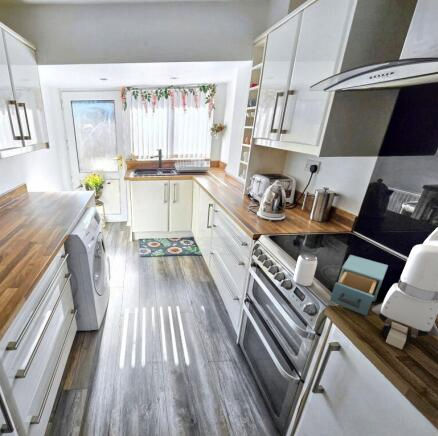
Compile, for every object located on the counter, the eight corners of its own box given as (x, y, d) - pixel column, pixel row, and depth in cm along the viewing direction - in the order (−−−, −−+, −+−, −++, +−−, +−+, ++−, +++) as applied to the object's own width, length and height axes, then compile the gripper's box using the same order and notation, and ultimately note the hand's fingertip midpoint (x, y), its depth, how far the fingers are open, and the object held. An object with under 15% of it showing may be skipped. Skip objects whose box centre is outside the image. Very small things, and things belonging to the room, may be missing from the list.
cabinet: (374, 301, 86) (382, 280, 83) (336, 287, 95) (342, 267, 91) (380, 285, 95) (388, 265, 91) (344, 273, 103) (350, 254, 99)
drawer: (364, 322, 77) (371, 303, 74) (326, 306, 84) (331, 288, 81) (373, 298, 87) (379, 281, 84) (338, 286, 94) (343, 269, 91)
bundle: (388, 329, 75) (392, 321, 74) (404, 336, 72) (408, 327, 71) (385, 342, 71) (388, 333, 70) (402, 349, 68) (406, 341, 67)
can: (295, 285, 97) (300, 259, 92) (292, 276, 102) (297, 251, 98) (313, 288, 95) (320, 262, 90) (309, 278, 100) (315, 253, 96)
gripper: (465, 296, 61) (437, 349, 68) (378, 270, 73) (361, 317, 80) (467, 311, 57) (436, 365, 63) (374, 281, 69) (356, 329, 75)
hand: (395, 338), depth 71 cm, fingers closed on bundle, 3 cm apart
